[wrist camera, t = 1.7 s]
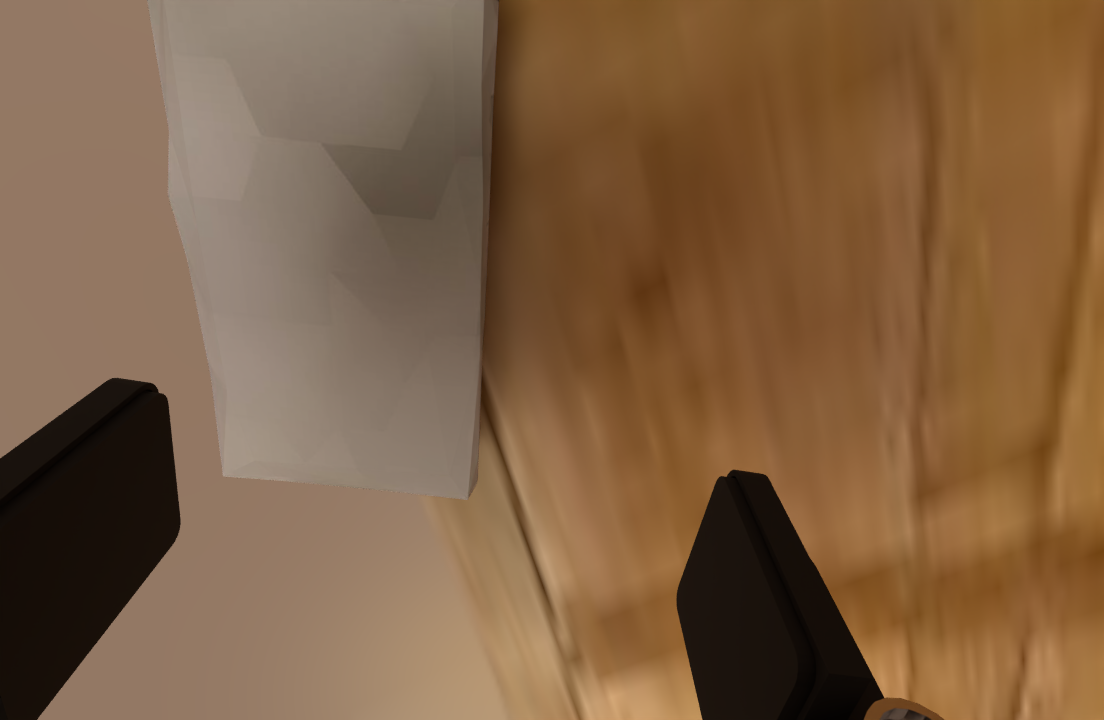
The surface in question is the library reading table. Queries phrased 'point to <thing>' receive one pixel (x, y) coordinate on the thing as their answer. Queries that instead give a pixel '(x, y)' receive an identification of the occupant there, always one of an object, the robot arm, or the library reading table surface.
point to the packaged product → (336, 229)
